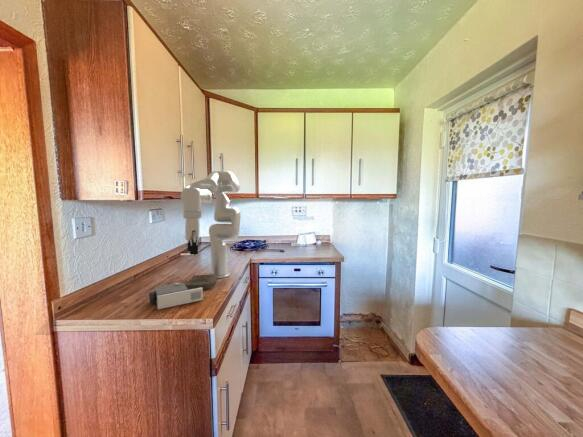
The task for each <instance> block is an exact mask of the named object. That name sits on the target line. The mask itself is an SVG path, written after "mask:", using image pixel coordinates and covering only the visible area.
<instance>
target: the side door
mask: <svg viewBox="0 0 583 437" xmlns="http://www.w3.org/2000/svg"><path fill="white" fill-rule="evenodd" d="M203 291H204V290H203V288H196V289H191V290H185V291H180V292H175V293H169V294H164V295H159V296H157V303H158V309H157V310H162V309H166V308H172V307H177V306H181V305H185V304H190V303H194V302H195V303H196V302H199V301H203V300H204V295H203V294H204V292H203Z"/></svg>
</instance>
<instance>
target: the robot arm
mask: <svg viewBox="0 0 583 437" xmlns="http://www.w3.org/2000/svg"><path fill="white" fill-rule="evenodd" d="M240 187H241V186H240V181H239V180H238V178H237V176H236V175H235V174H234V173H233V172H232V171H229V170H214V171H211V172H210V173H209V174H208V175H207V176H205V178H203V179H200V180H198V181H194V182H192V183H189V184H188V185H186V186H185V187H184V188H183V189H182V190H181V193H180V200H181V202H182V203H183V205H182V206H183V212H182V214H183V219H185V232H184V233H185V234H184V235H185V236H184V238H185V240H186V241H187V251H188V252H189V255H198V253H199V244H198V243H199V242H198V240H199V236H200V235H199V234H200V228H199V227H200V222H199V221H200V220H199V219H202V206H203V205H209V204H210V203H211V202H212V201H213V195H214V198H215V207H214V214H213V219H214V221H215V222H217V223H214V224H213V223H212V224H211V225H210V226H209V228H208V235H209V241H210V271H211V272H209V273H208V275H209V274H213V275H214V276H216V277H217V279H224V278H227V277H229V276H230V275H231V272H230V271H228V245H227V242H225V241H228V240H230V241H231V240H232V241H234V240H237V239H238V238H239V234H240V226H241V225H240V224H241V210H240V209H239V208H238V207H230V206H231V200H230V199H229V197H228V196H227V194H228V193H234V194H235V193H238V192H239V190H240V189H241V188H240ZM226 193H227V194H226Z"/></svg>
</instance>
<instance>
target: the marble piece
mask: <svg viewBox="0 0 583 437" xmlns="http://www.w3.org/2000/svg"><path fill="white" fill-rule="evenodd" d="M217 280H218V278H217V277H216V276H214V275H213V274H209V273H208V274H199V275H198V274H195V275H193V276H192V277H191V278H190V279H189V280H188V281H186V282H183V283H184V284H185V286H186V287H187V289H188V290H191V289H196V288H203V291H205V290H212V289H213V287H214V286H215V285H216V283H217Z"/></svg>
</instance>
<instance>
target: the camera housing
mask: <svg viewBox="0 0 583 437" xmlns="http://www.w3.org/2000/svg"><path fill="white" fill-rule="evenodd" d="M184 283H185V282H184V281H181V282H174V283H170V284H163V285H158V286H154V291H150V292H149V293H148V299H149V300H148V301H149V303H150V304H151V303H155V304H156V307H157V310H159V309H158V303H157V296H159V295H164V294H169V293H175V292H180V291H185V290H188V289H187V287H186V286H185V284H184Z"/></svg>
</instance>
